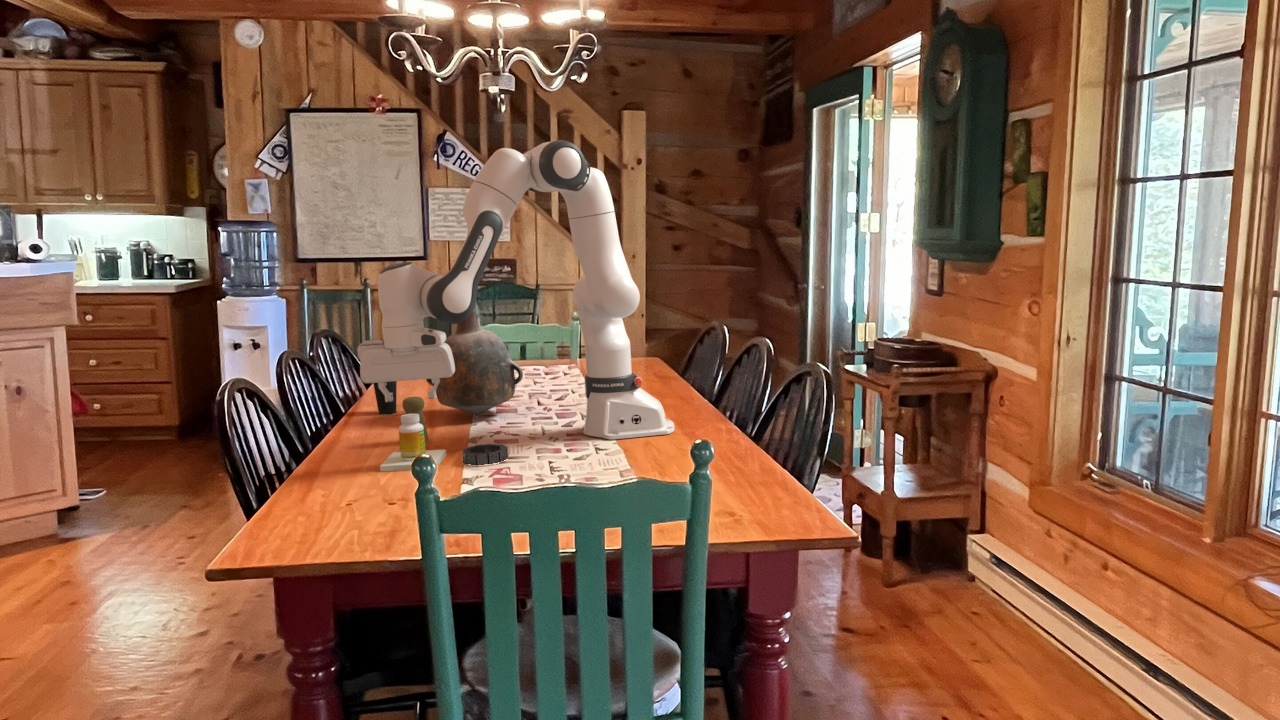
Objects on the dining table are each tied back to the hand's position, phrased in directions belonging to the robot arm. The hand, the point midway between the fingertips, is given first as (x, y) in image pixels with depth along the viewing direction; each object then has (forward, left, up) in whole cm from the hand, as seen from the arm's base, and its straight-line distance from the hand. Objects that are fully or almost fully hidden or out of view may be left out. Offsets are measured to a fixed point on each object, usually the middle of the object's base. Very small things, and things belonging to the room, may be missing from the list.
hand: (411, 399), depth 201 cm
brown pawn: (+4, -21, -14) cm, 26 cm away
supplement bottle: (0, +1, -13) cm, 13 cm away
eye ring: (-16, +1, -14) cm, 21 cm away
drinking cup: (+20, -58, -14) cm, 63 cm away
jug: (-7, -47, -14) cm, 49 cm away
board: (0, 0, -14) cm, 14 cm away
